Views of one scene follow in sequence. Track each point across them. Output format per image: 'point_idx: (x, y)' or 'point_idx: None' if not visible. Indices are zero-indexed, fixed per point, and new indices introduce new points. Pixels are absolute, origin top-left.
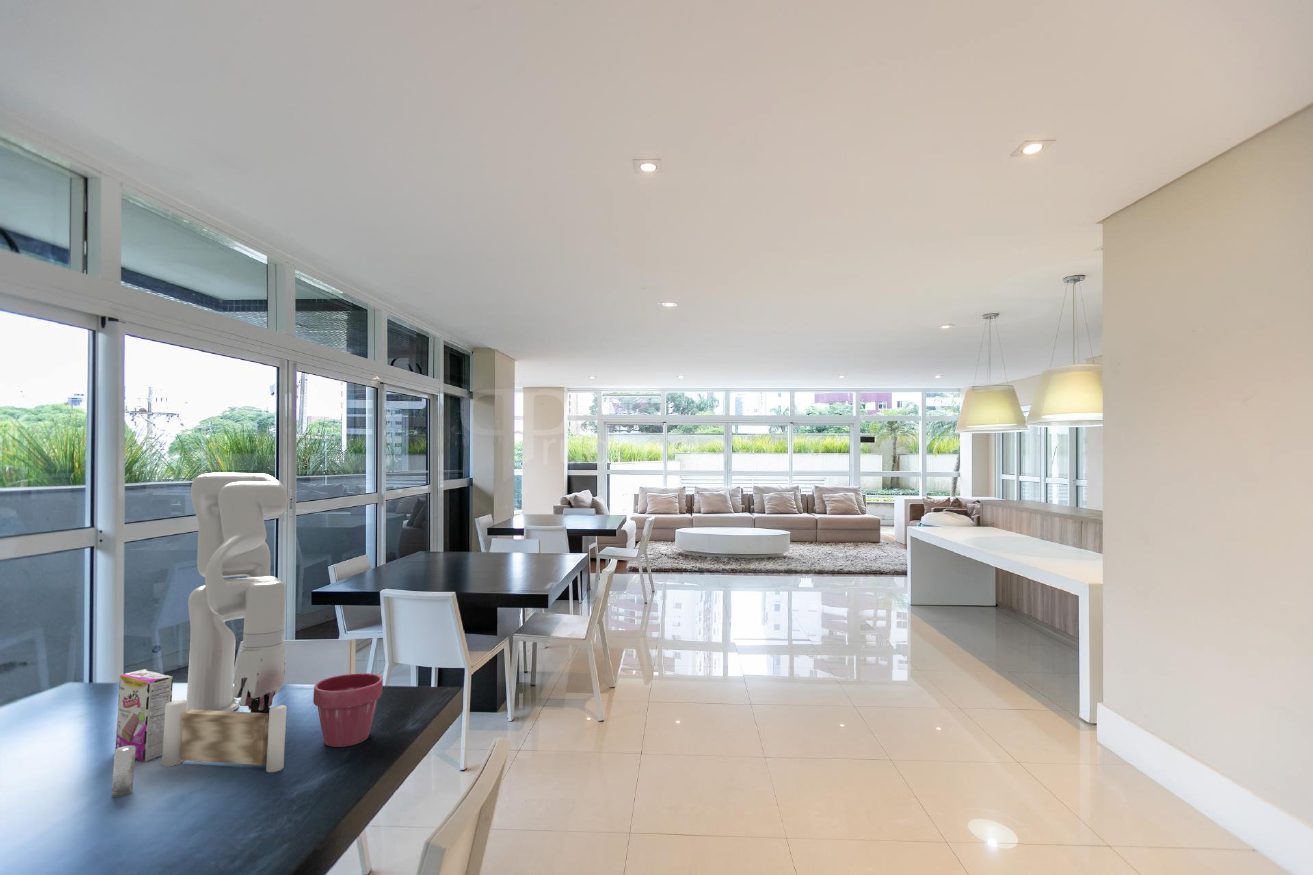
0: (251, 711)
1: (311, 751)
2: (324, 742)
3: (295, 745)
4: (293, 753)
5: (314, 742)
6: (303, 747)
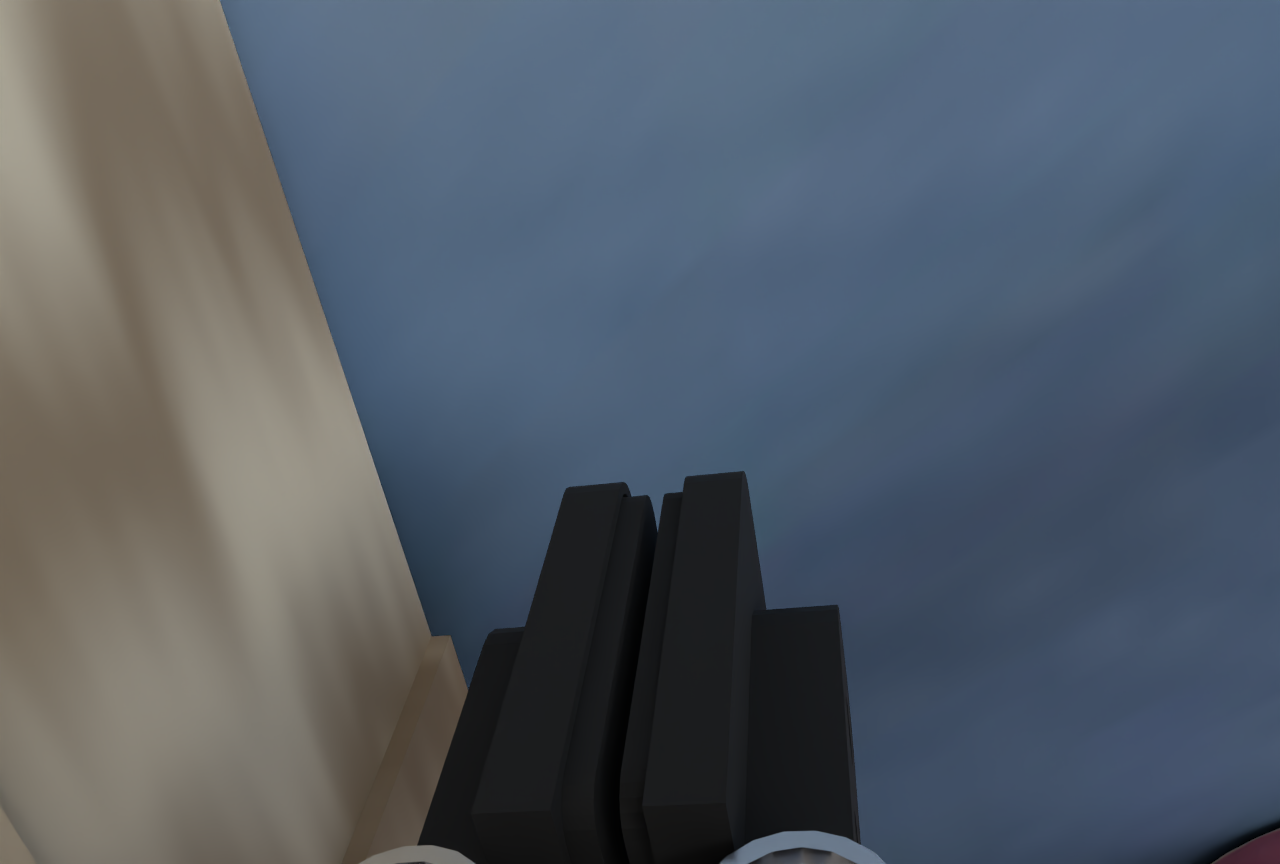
0: (492, 781)
1: (972, 837)
2: (1225, 859)
3: (1134, 579)
4: (875, 708)
5: (1265, 726)
6: (1077, 703)
